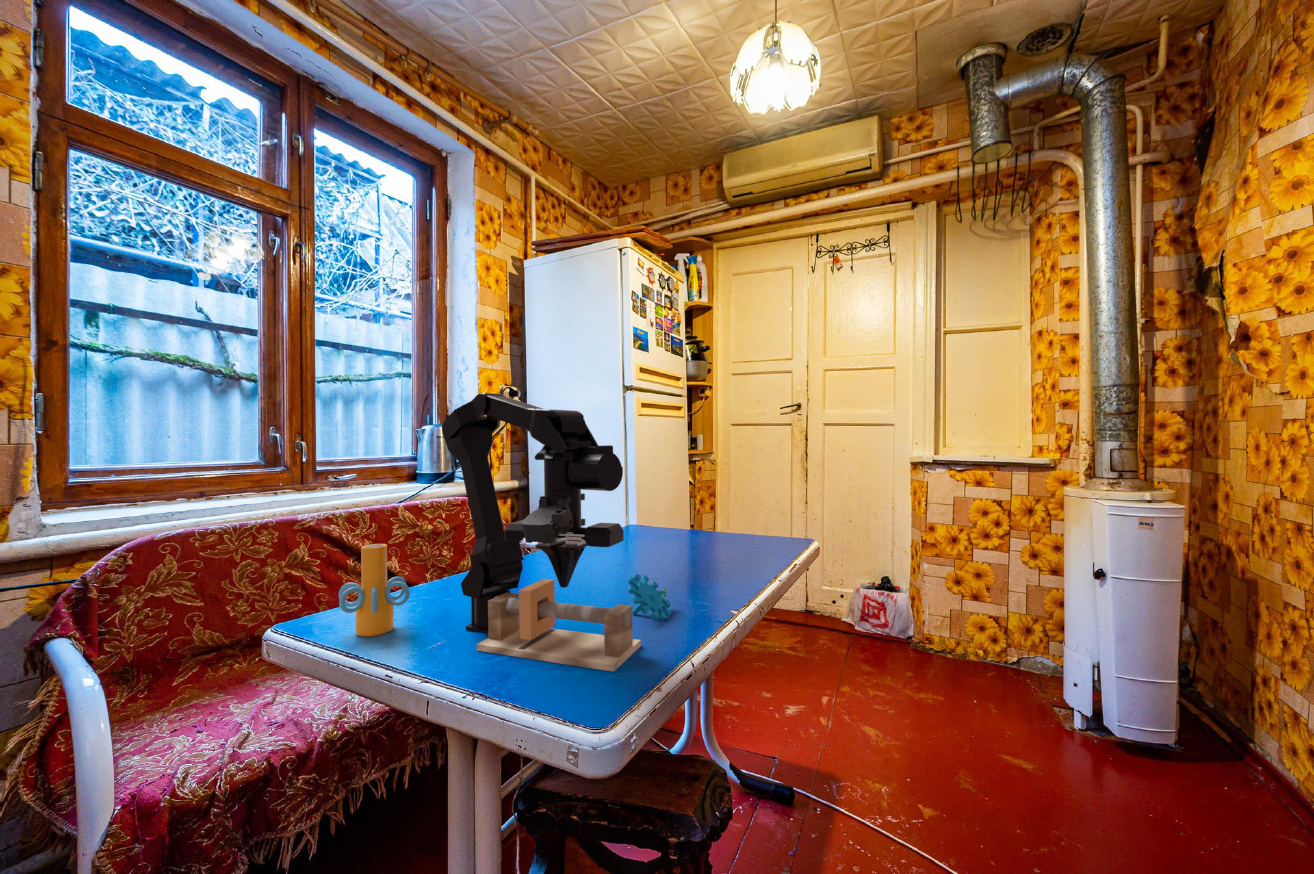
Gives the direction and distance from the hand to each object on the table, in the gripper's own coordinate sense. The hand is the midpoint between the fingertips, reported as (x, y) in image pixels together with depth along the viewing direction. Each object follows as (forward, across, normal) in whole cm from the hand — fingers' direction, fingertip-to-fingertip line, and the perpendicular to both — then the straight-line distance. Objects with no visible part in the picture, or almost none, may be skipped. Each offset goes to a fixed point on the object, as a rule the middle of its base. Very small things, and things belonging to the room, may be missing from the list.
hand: (564, 586), depth 85 cm
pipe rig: (+10, -1, 0) cm, 10 cm away
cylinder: (+10, -36, -4) cm, 38 cm away
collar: (+8, -5, 0) cm, 9 cm away
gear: (+10, +7, +19) cm, 23 cm away
